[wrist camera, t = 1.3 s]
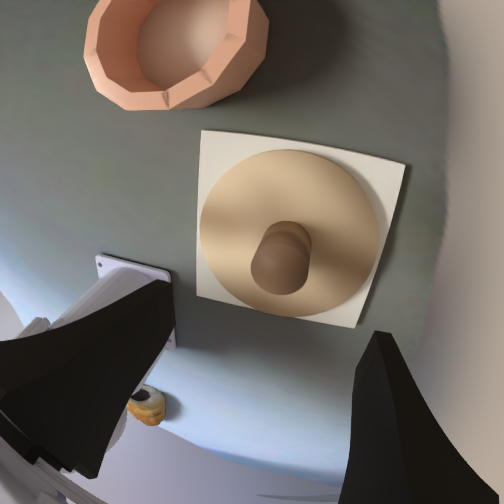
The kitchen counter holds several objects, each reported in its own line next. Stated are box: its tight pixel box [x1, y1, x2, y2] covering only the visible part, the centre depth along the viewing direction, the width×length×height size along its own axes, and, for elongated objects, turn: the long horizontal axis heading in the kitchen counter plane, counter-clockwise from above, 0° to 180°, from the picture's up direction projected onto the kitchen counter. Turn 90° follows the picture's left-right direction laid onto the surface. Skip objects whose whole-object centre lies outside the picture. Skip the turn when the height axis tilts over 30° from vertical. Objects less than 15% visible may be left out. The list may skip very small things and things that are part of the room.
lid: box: [200, 149, 379, 317], centre depth 18 cm, size 12×12×4 cm
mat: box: [197, 130, 405, 328], centre depth 20 cm, size 13×13×1 cm
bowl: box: [84, 0, 269, 110], centre depth 13 cm, size 10×10×5 cm
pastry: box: [126, 385, 165, 426], centre depth 35 cm, size 9×7×4 cm
